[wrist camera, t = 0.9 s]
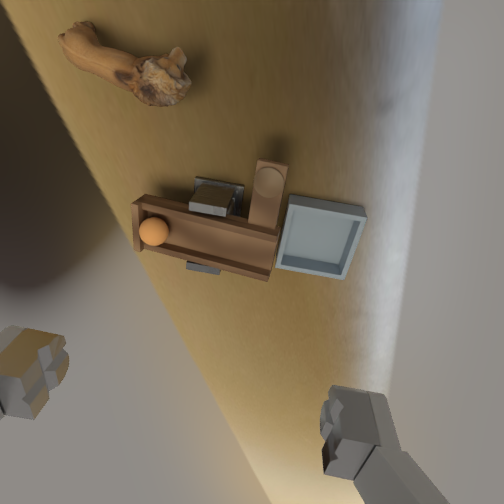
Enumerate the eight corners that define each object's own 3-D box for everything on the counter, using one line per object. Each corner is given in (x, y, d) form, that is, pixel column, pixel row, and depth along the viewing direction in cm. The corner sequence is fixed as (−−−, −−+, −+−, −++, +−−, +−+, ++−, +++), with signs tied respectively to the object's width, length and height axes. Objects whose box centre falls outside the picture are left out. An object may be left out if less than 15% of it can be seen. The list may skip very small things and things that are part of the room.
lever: (143, 132, 34) (127, 138, 32) (294, 165, 32) (289, 174, 29) (147, 238, 41) (133, 250, 38) (271, 271, 39) (265, 286, 36)
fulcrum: (196, 176, 40) (179, 198, 34) (244, 185, 40) (236, 208, 34) (192, 240, 45) (177, 269, 39) (235, 248, 45) (227, 277, 39)
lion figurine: (209, 50, 33) (184, 50, 25) (203, 106, 36) (178, 122, 28) (65, 14, 33) (-4, 4, 25) (70, 73, 35) (9, 81, 28)
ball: (146, 209, 37) (132, 222, 35) (173, 215, 37) (161, 228, 34) (147, 234, 39) (134, 247, 36) (173, 239, 39) (161, 253, 36)
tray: (289, 193, 40) (289, 203, 37) (362, 206, 40) (367, 217, 37) (276, 255, 45) (275, 267, 42) (341, 266, 45) (344, 279, 42)
